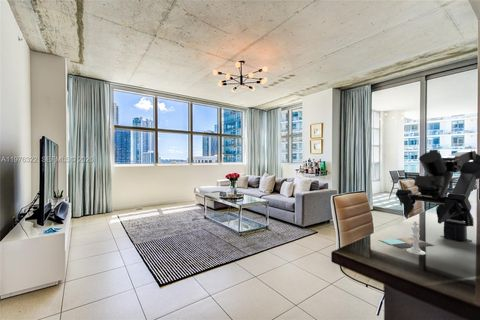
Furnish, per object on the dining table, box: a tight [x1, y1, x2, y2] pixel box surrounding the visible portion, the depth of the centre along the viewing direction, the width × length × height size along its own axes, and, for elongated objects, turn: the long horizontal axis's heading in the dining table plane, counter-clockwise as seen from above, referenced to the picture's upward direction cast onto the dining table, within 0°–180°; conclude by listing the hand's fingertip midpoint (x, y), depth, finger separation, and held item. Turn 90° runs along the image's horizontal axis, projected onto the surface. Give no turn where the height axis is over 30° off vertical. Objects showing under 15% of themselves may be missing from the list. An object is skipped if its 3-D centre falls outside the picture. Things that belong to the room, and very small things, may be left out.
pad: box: [379, 238, 407, 246], centre depth 79 cm, size 7×5×1 cm
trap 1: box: [392, 244, 413, 249], centre depth 74 cm, size 6×3×1 cm, turn 102°
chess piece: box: [406, 220, 426, 256], centre depth 70 cm, size 5×5×10 cm
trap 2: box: [411, 241, 434, 248], centre depth 76 cm, size 6×3×1 cm, turn 102°
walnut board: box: [378, 237, 437, 250], centre depth 78 cm, size 15×8×1 cm, turn 102°
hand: (420, 219), depth 71 cm, fingers open, 9 cm apart
